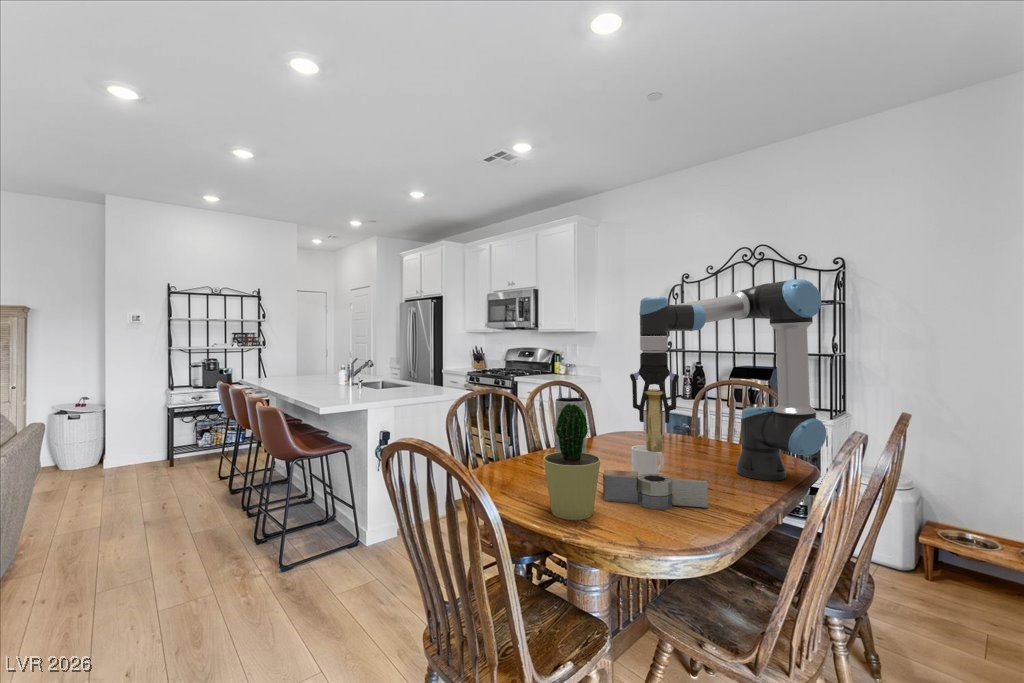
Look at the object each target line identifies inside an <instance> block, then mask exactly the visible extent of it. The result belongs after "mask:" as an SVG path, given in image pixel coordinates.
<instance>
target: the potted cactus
mask: <svg viewBox="0 0 1024 683" xmlns="http://www.w3.org/2000/svg"><path fill="white" fill-rule="evenodd" d="M563 405H564V404H563ZM580 407H581V406H580ZM580 407H578V405H577V406H576V405H575V404H574V405H572V404H570V403H569V404H568V405H566V406H565V407H564V408H563V409H561V411H560V412H561V413H560V415H558V416H559V417H558V418H557V419H558V420H557V419H556V418H555V423H556V422H557V426H556V425H555V431H553V432H554V436H556V433H557V435H558V437H559V438H558V439H559V440H557V441H558V442H559V445H560V450H561V452H560V451H559V452H556V451H555V452H551V453H548V454H545V455H544V456H543V462H544V469H545V470H544V471H545V479H546V484H547V491H548V497H549V504H550V511H551V513H552V515H553V516H555V517H556V518H559V519H563V520H568V521H579V520H586V519H589V518H591V517H592V516H593V514H594V511H595V510H594V509H595V502H596V496H597V495H596V494H597V487H598V480H599V473H600V466H601V457H599V456H598V455H595V454H592V453H590V452H589V453H588V452H586V453H584V452H582V447H583V445H584V444H583V442H584V438H585V437H586V440H587V439H588V438H587V437H589V438H590V439H591V437H590V436H589V435H588V434H590V435H591V432H589V431H591V429H590V426H589V425H588V424H589V421H588V420H587V416H586V417H585V414H584V412H583V411H582V410H581V409H580ZM558 411H559V410H558ZM556 420H557V421H556ZM555 423H553V424H555ZM557 444H558V443H557ZM584 446H585V445H584Z"/></svg>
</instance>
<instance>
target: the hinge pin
mask: <svg viewBox="0 0 1024 683" xmlns="http://www.w3.org/2000/svg"><path fill="white" fill-rule="evenodd" d="M644 394H645V395H647V397H646V402H645V410H646V434H645V438H646V440H645V441H646V443H645V444H646V445H645V446H646V450H647V451H650V452H661V453H662V452H663V435H662V411H663V400H662V395H664V391H660V389H655V388H654V389H653V388H652V389H648V391H644Z"/></svg>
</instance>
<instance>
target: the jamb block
mask: <svg viewBox="0 0 1024 683" xmlns="http://www.w3.org/2000/svg"><path fill="white" fill-rule="evenodd" d="M605 475H621V476H637V489H638V472H633V471H632V470H631V471H630V470H613V469H604V470H603V473H602V479H603V480H602V494H603V495H602V497H603V500H605V479H604V476H605Z"/></svg>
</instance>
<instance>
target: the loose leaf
mask: <svg viewBox="0 0 1024 683" xmlns="http://www.w3.org/2000/svg"><path fill="white" fill-rule="evenodd" d="M708 483H709V482H708V480H700V479H699V480H697V479H696V480H695V479H685V478H684V479H682V478H681V479H680V478H672V477H670V476H668V475H664V474H660V473H657V474H641V475H639V476H638V491H639V492H640V493H642V494H646V495H650V496H668V495H670V494H672V506H683V507H696V508H706V509H707V508H708V507H709V498H708V497H709V493H708V490H709V488H708V487H709V484H708Z"/></svg>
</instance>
